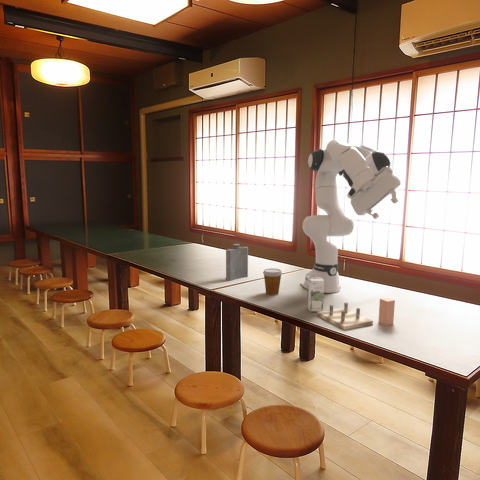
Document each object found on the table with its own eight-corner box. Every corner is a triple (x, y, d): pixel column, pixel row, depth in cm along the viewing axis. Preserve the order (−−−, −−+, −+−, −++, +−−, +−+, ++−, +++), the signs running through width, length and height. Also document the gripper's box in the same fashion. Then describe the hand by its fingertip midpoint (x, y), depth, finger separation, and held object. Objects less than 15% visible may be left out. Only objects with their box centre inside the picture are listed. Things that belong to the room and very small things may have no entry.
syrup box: (319, 307, 183) (321, 276, 181) (323, 312, 177) (324, 280, 175) (307, 308, 183) (308, 276, 181) (310, 312, 177) (311, 280, 175)
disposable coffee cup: (267, 289, 211) (267, 267, 209) (284, 292, 207) (284, 269, 205) (259, 294, 203) (260, 271, 201) (277, 297, 199) (278, 273, 197)
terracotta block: (378, 322, 166) (379, 298, 164) (385, 320, 167) (387, 297, 166) (385, 325, 162) (387, 301, 161) (393, 324, 164) (394, 300, 162)
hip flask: (228, 281, 228) (228, 246, 225) (223, 279, 231) (223, 245, 228) (249, 276, 239) (249, 243, 235) (244, 275, 242) (244, 242, 238)
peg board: (317, 315, 174) (317, 303, 173) (343, 310, 179) (344, 298, 178) (344, 330, 157) (345, 316, 157) (372, 324, 163) (373, 311, 162)
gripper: (391, 164, 154) (412, 192, 148) (352, 198, 167) (370, 225, 161) (382, 162, 150) (404, 192, 144) (344, 198, 162) (362, 226, 157)
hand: (386, 210), depth 153 cm, fingers open, 8 cm apart
